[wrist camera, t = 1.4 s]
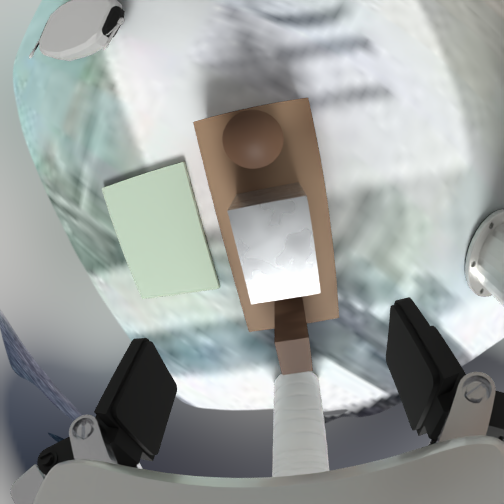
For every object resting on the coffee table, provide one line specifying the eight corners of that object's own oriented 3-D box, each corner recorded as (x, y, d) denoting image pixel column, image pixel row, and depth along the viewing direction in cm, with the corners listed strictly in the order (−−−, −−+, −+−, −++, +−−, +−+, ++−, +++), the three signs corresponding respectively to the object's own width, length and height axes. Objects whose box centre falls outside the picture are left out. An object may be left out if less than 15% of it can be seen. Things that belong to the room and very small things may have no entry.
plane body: (301, 104, 23) (324, 81, 12) (330, 291, 31) (354, 368, 20) (206, 124, 24) (160, 117, 13) (252, 304, 32) (242, 384, 21)
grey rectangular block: (298, 182, 21) (306, 195, 17) (311, 262, 24) (320, 292, 19) (236, 194, 22) (227, 210, 17) (255, 272, 25) (251, 304, 20)
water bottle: (302, 399, 39) (308, 549, 16) (265, 387, 38) (256, 549, 15) (337, 366, 36) (365, 537, 13) (298, 351, 35) (309, 544, 12)
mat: (185, 161, 26) (183, 161, 25) (220, 285, 31) (219, 288, 31) (104, 187, 27) (101, 188, 27) (144, 296, 33) (142, 299, 32)
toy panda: (88, -26, 16) (46, 67, 21) (71, -38, 12) (23, 61, 17) (167, -38, 17) (120, 63, 22) (155, -57, 12) (99, 52, 17)
